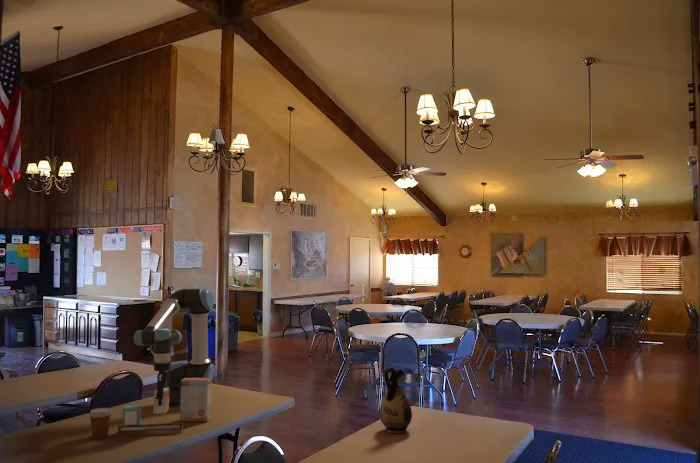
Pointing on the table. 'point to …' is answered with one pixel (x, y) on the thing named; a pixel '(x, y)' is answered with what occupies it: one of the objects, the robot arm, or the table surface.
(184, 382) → the cracker box
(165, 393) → the small box
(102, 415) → the disposable coffee cup
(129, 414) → the tea box
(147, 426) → the shelf board
